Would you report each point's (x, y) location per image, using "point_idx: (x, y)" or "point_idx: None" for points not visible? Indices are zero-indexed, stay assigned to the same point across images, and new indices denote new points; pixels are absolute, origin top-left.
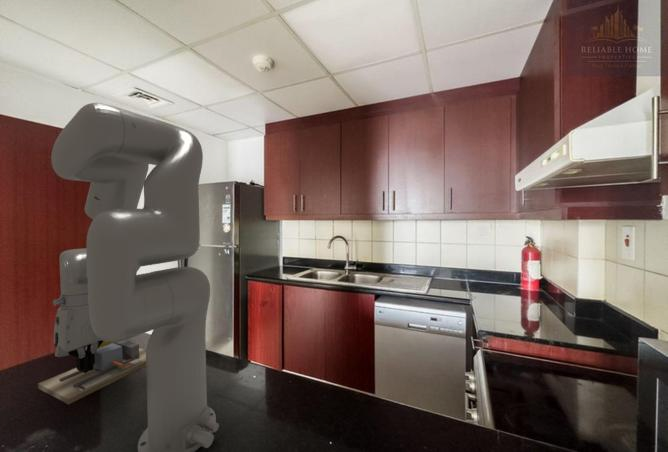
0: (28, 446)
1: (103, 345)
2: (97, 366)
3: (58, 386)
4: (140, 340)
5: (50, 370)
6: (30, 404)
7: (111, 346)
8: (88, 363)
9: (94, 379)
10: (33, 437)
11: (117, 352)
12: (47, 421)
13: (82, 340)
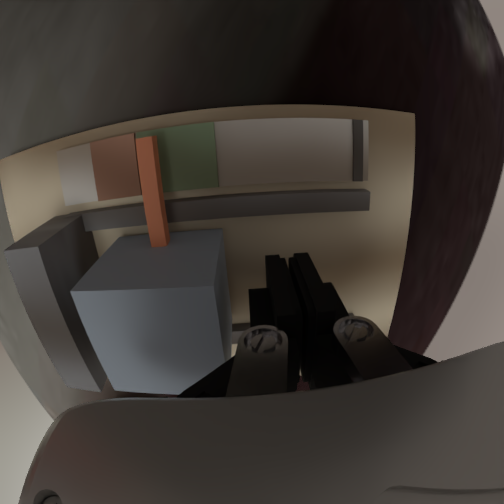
0: (493, 30)
1: None
2: (227, 289)
3: (377, 280)
4: (49, 384)
5: None
6: (435, 261)
7: (125, 356)
8: (299, 280)
9: (286, 173)
10: (486, 51)
11: (113, 271)
12: (459, 84)
13: (489, 422)
